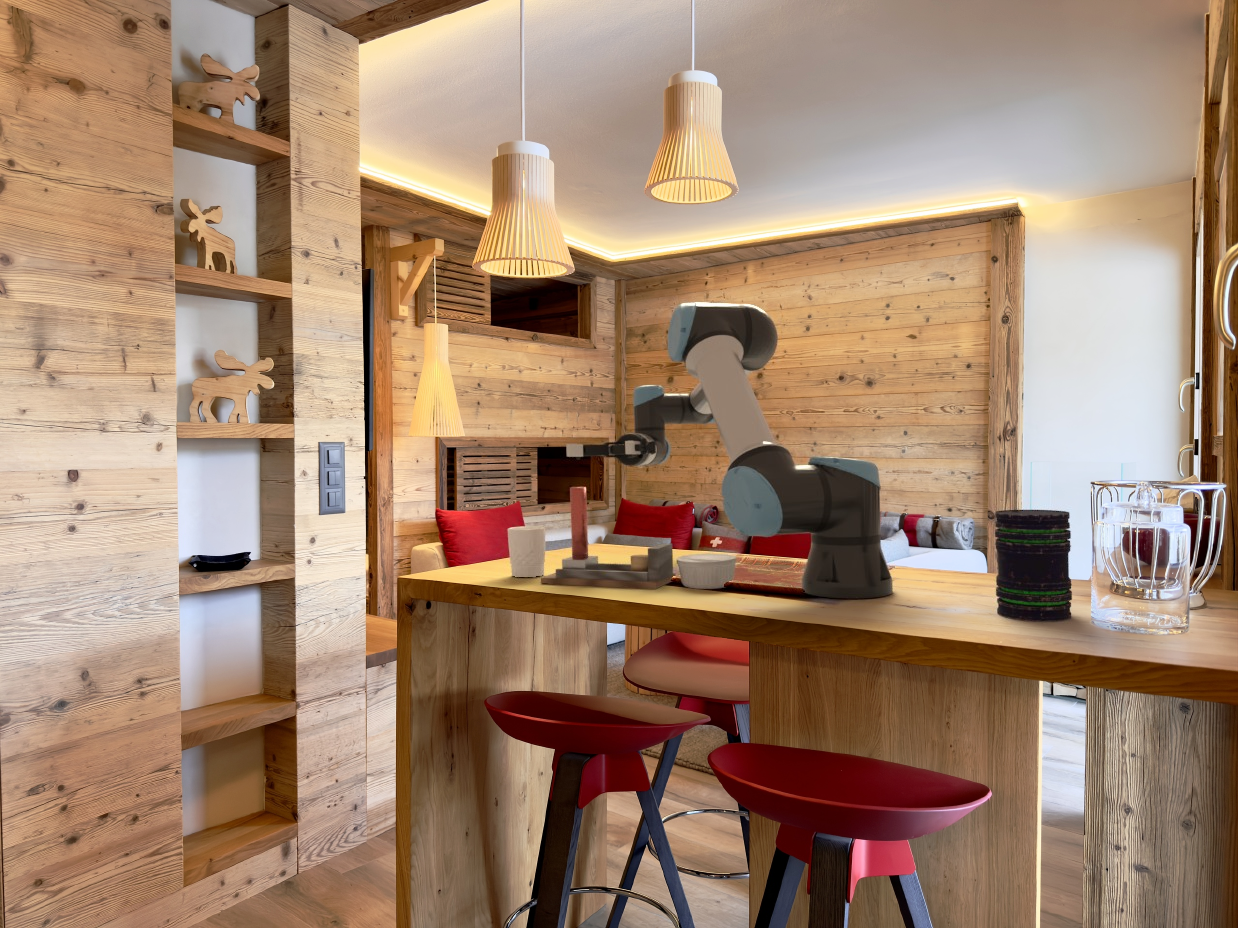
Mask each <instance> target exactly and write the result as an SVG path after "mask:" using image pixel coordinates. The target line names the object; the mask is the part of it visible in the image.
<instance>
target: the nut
mask: <svg viewBox="0 0 1238 928" xmlns="http://www.w3.org/2000/svg"><path fill="white" fill-rule="evenodd" d="M630 564H631V571H635V572H648V554H634V555H630Z"/></svg>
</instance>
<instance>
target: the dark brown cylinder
mask: <svg viewBox="0 0 1238 928" xmlns="http://www.w3.org/2000/svg"><path fill="white" fill-rule="evenodd" d="M994 515H995V516H994V517H995V518H996V519H995V520H996V521H995V524H994V527H995V529H994V537H995V544H994V545H995V549H996V550H997V575H996V577H995V579H996V580H995V582H996V587H995V596H996V597H998V598H997V599H996V602H997V606H998V607H997V608H996V611H997V612H996V613H997V614H998V615H999V616H1000V617H1003V618H1007V619H1012V620H1016V621H1017V620H1018V621H1024V622H1025V621H1026V622H1039V623H1048V622H1049V623H1050V622H1052V623H1055V622H1064V621H1068V620H1070V619H1072V612H1071V607H1072V602H1071V601H1072V599H1073V591H1072V590H1071V589H1072V586H1073V585H1072V579H1071V578H1070V573H1069V572H1070V569H1069V568H1070V567H1069V565H1070V564H1069V562H1070V561H1069V553H1070V552H1071V548H1072V545H1071V540H1070V539H1072V537H1071V536H1072V533H1071V532H1072V531H1071V530H1070V528H1071V527H1070V526H1071V524H1070V522H1069V519H1070V517H1071V516H1070V511H1067V510H1066V511H1065V510H1064V511H1063V510H1057V509H1055V510H1053V509H1050V510H1049V509H1004V510H997V511H995V512H994Z"/></svg>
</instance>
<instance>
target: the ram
mask: <svg viewBox="0 0 1238 928" xmlns="http://www.w3.org/2000/svg"><path fill="white" fill-rule="evenodd" d="M569 495H570V496H569V497H570V527H571V529H570V532H571V556H569V557H566V558H563V559H561V569H580V570H598V563H599V556H598V555H589V538H588V537H589V536H588V535H589V534H588V533H589V532H588V503H587V502H588V500H587V498H588V497H587V487H586V486H571V487H569Z"/></svg>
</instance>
